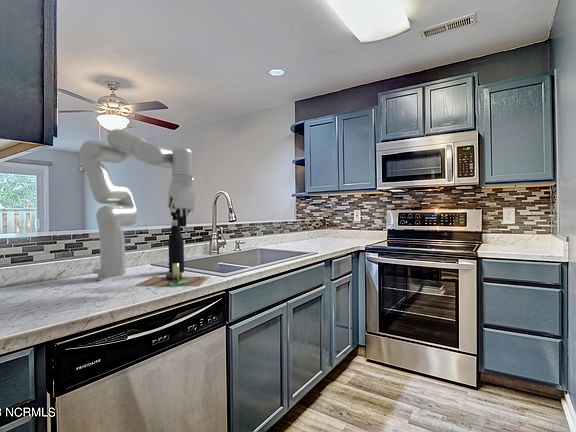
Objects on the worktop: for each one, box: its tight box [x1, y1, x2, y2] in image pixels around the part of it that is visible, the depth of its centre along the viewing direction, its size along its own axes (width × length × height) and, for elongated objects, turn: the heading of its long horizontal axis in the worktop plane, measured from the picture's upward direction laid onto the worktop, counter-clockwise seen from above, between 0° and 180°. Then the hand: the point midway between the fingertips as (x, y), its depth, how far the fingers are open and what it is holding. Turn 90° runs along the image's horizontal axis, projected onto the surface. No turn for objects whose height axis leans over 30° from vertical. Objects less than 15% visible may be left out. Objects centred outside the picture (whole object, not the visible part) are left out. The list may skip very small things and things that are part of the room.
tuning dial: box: [165, 263, 183, 282], centre depth 124 cm, size 16×6×8 cm, turn 24°
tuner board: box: [135, 275, 211, 287], centre depth 125 cm, size 24×16×2 cm
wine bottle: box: [167, 211, 185, 274], centre depth 142 cm, size 6×6×30 cm
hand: (181, 226), depth 126 cm, fingers closed
